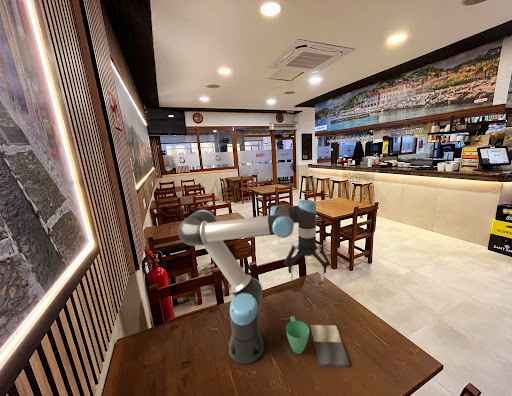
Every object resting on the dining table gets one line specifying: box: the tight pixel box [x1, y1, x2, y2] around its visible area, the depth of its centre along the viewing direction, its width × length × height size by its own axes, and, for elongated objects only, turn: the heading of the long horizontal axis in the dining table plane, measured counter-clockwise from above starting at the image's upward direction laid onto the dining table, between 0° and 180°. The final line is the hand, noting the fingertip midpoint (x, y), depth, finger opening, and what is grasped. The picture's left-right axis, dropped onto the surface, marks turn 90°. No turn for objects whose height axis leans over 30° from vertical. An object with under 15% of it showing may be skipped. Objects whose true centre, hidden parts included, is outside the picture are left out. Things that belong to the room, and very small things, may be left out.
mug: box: [285, 315, 310, 355], centre depth 98 cm, size 15×10×10 cm
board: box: [310, 324, 351, 368], centre depth 97 cm, size 12×20×2 cm, turn 175°
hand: (307, 279), depth 101 cm, fingers open, 13 cm apart
